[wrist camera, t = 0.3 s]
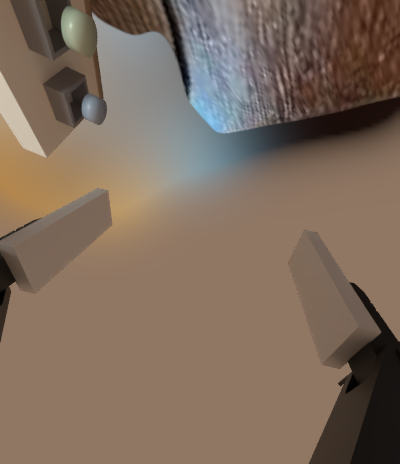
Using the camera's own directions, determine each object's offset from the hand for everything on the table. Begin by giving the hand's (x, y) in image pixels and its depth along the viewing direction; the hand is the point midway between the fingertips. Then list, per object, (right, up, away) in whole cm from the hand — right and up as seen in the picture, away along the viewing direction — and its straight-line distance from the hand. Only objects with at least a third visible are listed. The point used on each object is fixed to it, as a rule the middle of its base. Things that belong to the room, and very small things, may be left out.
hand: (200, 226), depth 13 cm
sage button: (-14, +26, +12) cm, 32 cm away
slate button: (-17, +22, +20) cm, 34 cm away
